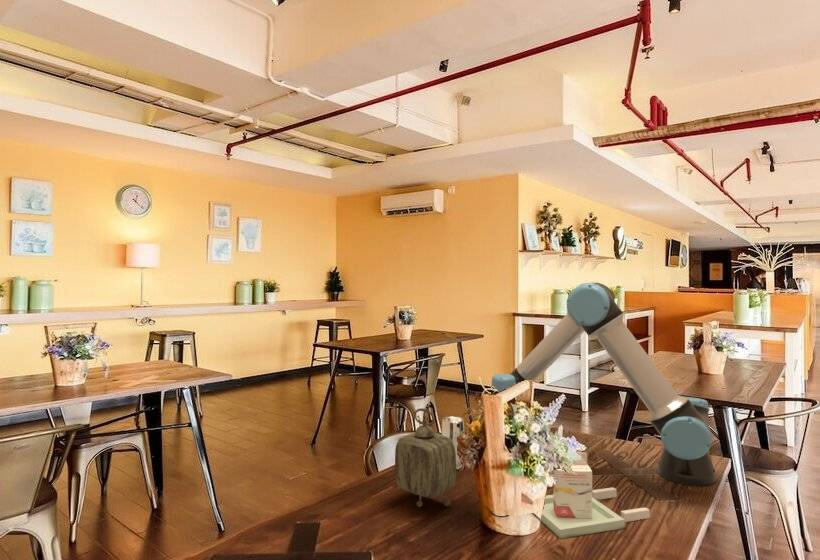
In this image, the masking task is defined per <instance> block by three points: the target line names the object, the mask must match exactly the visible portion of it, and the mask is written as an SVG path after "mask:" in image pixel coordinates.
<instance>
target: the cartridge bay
mask: <svg viewBox="0 0 820 560" xmlns="http://www.w3.org/2000/svg"><path fill="white" fill-rule="evenodd" d="M617 492H618V491H617V488H615V487H612V486H611V487H607V488H606V487H605V488H597V489H592V497H593V498H594V499H596V500H597V501H599V500H605V499H612V498H617V496H618V495H617V494H618V493H617ZM650 512H651V511H650V509H649V508H647V507H638V508H631V509H625V510H620V517H622V518H623V519H624V520H625V523H627V522H633V521H639V520H640V519H641V520H648V519H651V517H650V516H651V515H650V514H651V513H650ZM641 520H640V521H641Z"/></svg>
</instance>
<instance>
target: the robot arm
mask: <svg viewBox="0 0 820 560" xmlns="http://www.w3.org/2000/svg"><path fill="white" fill-rule="evenodd" d="M566 312H567V313H566V314H565V315H564V317H562V319H560V320H559V322H558V323H557V324H556V325H555V326H554V327H553V328H552V329H551V331H549V332H548V333H547V335H545V336H544V338H543V339H542V340H541V341H540V342H539V343H538V344H537V345H536V347H534V349H532V351H530V353H529V354H528V355H527V356H526V357H525V358H524V359H523V360H522V361H521V362H520V363H519V364H518V365H517V366H516V368H514V369H513V370H512V372H511V373H508V374H507V373H498V374H494V375H493V376H492V377H491V385H490V388H491V387H492V386H494V387H495V388H496V389H497V390H498V391H502V390H504V389H507V388H509V387H512V386H514V385H515V384H517V383H518V382H521V381H524V380H533V382H534V383H535V382H536V381H537V380H538V379H539V378H540V377H541V376H542V375H543V374H544V373H545V372H546V371H547V370H549V368H550V367H551V366H552V365H553V364H554V363H555V362H556V361H557V360H558V359H559V358H560V357H561V356H562V355H563V354H564V353H565V352H566V350H568V348H570V347H571V345H573V343H575V341H577V340H578V339H579V337H580V336H581V335H582V334H583V333H584V332H585V333H586V334H587V337H591V338H595V339H597V340H598V342H599V344H600V345H601V346H602V347H603V349H604V350H605V352H606V353H607V354H608V355H609V357H610V358H611V360H612V361H613V363H614V364H615V365H616V367H617V368H618V369H619V371H620V372H621V374H622V375H623V377H624V378H625V379H626V380H627V382H628V383H629V384H630V386H631V388H632V389H633V390H634V392H635V393H636V395H637V396H638V397H639V399H640V400H641V402H643V404H644V405H645V406H646V408H647V409H648V411H649V416H648V420H649V421H650V423H651V424H652V426H653V427H654V428H655V430H656V431H657V433H658V434H659V435H660V439H661V443H662V445H663V449H662V452H661V455H660V458H659V459H660V460H659V461H658V463H657V474H659V476H660V477H662V478H664V479H666V480H667V481H670V482H673V483H677V484H682V485H687V486H696V487H697V486H700V487H701V486H702V487H703V486H710V485H713V484H715V483H716V482H717V473H716V469H715V468H714V464H713V460H712V458H711V455H710V451H709V450H710V449H711V446H712V443H713V434H712V431H711V427H710V420H709V419H710V418H709V417H710V415H709V413H710V412H709V411H710V408H709V406H710V405H709V402H708V401H707V400H706V399H702V398H698V397H697V398H696V397H690V396H683V395H679V394H678V393H677V391H675V389H674V388H673V386H672V385H671V383H669V381H668V380H667V378H666V377H665V376H664V374H663V373H662V372H661V371H660V369H659V367H657V365H656V364H655V362H654V361H653V359H652V358H651V357H650V356H649V355H648V353H647V352H646V350H645V349H644V348H643V347H642V346H641V344H640V342H639V341H638V340H637V338H636V337H635V336H634V335H633V333H632V332H631V331H630V330H629V328H628V327H627V325H626V324H625V323H624V315H625V314H624V312H623V311H622V310H621V308H620V307H619V305H618V304H617V303H616V300H615V296H614V293H613V292H612V290H611V289H610V288H609V287H608V286H606V285H605V284H603V283H600V282H585V283H581V284H579V285H577V286H576V287H574V288H573V289H572V290H571V291H570V292H569V294H568V296H567V299H566ZM577 452H582V451H577Z"/></svg>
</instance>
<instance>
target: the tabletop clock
mask: <svg viewBox="0 0 820 560" xmlns="http://www.w3.org/2000/svg"><path fill="white" fill-rule="evenodd" d="M418 412H424V413H427V414H429V415H430V416H431V417H432V421H431V422H427V419H425V418H424V419H422V421H421V420H419V419H418V418H417V416H416V415H417V413H418ZM413 414H414V415H413V416H414V417H413V418H414V419H415V421H416V423H418V424H419V425H420V426H418V427H416V430H415V432H413V433H411V434H410V433H409V434H407V435H405V436H402V437H399V439H398V440H397V442H396V446H395V451H394V468H395V469H394V470H395V474H394V475H395V480H396V484H397V485H398V486H399V487H400V488H401V489H402V490H405V491H407V492H409V493H412V494H413V495H415V496H418V498H419V499H418V501H416V507H418V508H422V507H423V504H424V503H423V501H422V498H423V497H425V498H429V499H433V498H437V497H439V496H440V498H441V499H442V500H443V505H444V506H445V507H450V505H451V501H450V500H449V499H446V497H445V495H444V493H446V492H449V491H450V490H452V489H454V487H455V485H456V480H457V471H456V467H457V465H456V452H455V446H454V443H453V441H452V440H451V439H450V438H448V437H446V436H444V435H442V433H438V432H435V431H434V429H433V428H432V427H431V426H432V425H433V424H435V421H436V419H435V415H434V414H433V412H431V410H429V409H427V408H423V407H422V408H421V407H419V408H417V409H416V410H415V411H414V413H413ZM421 506H422V507H421Z"/></svg>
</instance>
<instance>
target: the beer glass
mask: <svg viewBox="0 0 820 560" xmlns="http://www.w3.org/2000/svg"><path fill="white" fill-rule="evenodd" d="M464 421H465V420H464V418H463V417H461V416H445V417H443V418H442V422H441V423H442V424H441V435H444V436H446V437H448V438H450V439H451V440H452V441H453V443H454V446H455V452H456V465H457V467H456V469H459V468H461V467H462V464H461V462H460V459H459V457H458V455H457V445H458V442H457V437H459V436H460V435H461V434H462V432H463V431H464V432H465V422H464Z"/></svg>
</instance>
